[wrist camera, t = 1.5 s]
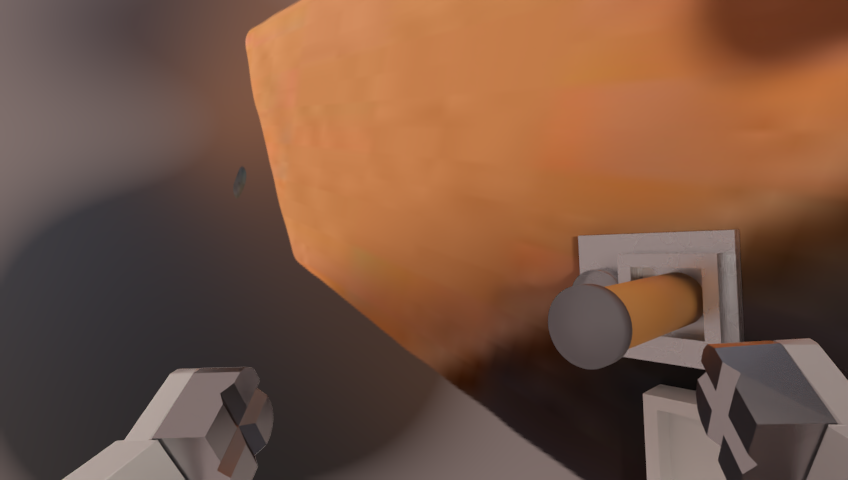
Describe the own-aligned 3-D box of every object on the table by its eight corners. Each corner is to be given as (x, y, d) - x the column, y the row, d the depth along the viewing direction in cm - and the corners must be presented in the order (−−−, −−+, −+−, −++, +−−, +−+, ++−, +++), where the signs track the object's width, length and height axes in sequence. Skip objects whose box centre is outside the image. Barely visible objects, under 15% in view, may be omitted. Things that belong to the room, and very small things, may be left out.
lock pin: (710, 267, 35) (621, 287, 27) (713, 334, 35) (625, 376, 27) (643, 266, 39) (546, 283, 30) (646, 327, 39) (549, 362, 30)
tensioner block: (739, 229, 35) (722, 230, 32) (745, 371, 35) (729, 383, 33) (584, 235, 44) (563, 236, 41) (589, 348, 44) (568, 356, 42)
